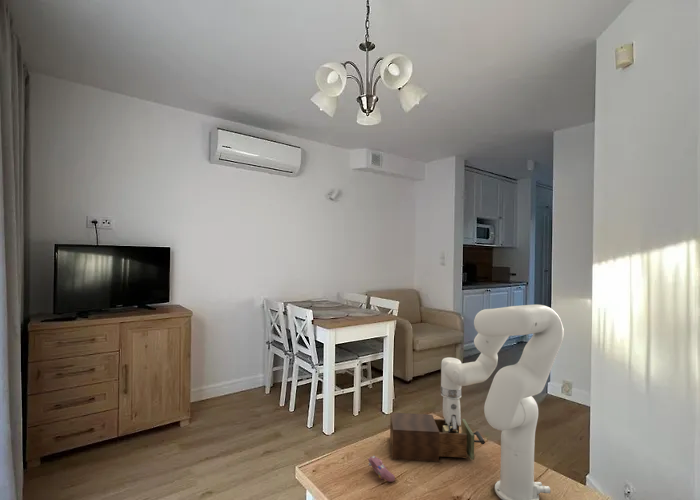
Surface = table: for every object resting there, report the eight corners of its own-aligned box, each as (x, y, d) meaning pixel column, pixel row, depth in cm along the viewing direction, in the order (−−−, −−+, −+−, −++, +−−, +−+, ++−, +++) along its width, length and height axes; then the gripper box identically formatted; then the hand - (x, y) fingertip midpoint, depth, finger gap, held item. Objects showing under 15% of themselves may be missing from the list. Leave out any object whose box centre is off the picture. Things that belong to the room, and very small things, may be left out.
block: (454, 437, 141) (454, 425, 141) (457, 444, 136) (457, 431, 136) (442, 437, 141) (442, 425, 141) (445, 443, 136) (445, 430, 136)
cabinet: (431, 441, 146) (432, 414, 146) (438, 461, 132) (439, 431, 132) (390, 439, 147) (390, 412, 147) (392, 459, 132) (393, 429, 133)
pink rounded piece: (371, 473, 126) (363, 456, 125) (381, 464, 128) (374, 448, 127) (386, 489, 117) (377, 472, 116) (397, 480, 119) (389, 463, 118)
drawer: (476, 441, 145) (476, 419, 145) (487, 460, 131) (488, 436, 131) (424, 439, 146) (425, 417, 146) (430, 457, 132) (431, 433, 132)
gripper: (467, 400, 130) (466, 452, 130) (455, 384, 147) (454, 430, 147) (445, 399, 131) (444, 451, 130) (436, 383, 148) (435, 429, 147)
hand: (450, 439), depth 139 cm, fingers closed on block, 4 cm apart
